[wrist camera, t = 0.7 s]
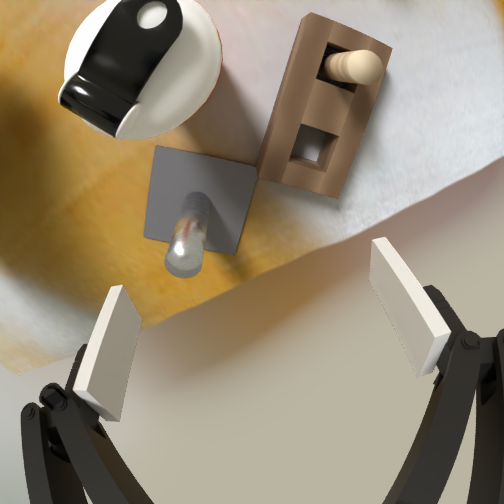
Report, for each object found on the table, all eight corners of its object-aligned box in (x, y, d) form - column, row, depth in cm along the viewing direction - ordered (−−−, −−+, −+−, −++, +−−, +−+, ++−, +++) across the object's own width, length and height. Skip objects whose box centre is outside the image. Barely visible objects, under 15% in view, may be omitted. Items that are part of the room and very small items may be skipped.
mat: (144, 235, 37) (143, 237, 37) (156, 145, 31) (155, 146, 31) (234, 253, 40) (234, 255, 39) (259, 167, 34) (260, 168, 33)
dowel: (312, 74, 28) (344, 76, 19) (320, 51, 26) (354, 43, 18) (338, 84, 28) (376, 90, 20) (345, 61, 27) (387, 59, 18)
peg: (181, 213, 36) (162, 274, 26) (186, 189, 34) (166, 243, 24) (207, 218, 36) (198, 281, 26) (213, 194, 35) (205, 251, 25)
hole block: (255, 166, 33) (258, 177, 30) (301, 19, 24) (310, 12, 21) (327, 185, 35) (337, 199, 32) (376, 49, 26) (392, 48, 23)
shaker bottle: (243, 49, 26) (258, 10, 9) (203, 120, 30) (163, 182, 13) (168, 18, 23) (85, -40, 7) (131, 89, 27) (18, 122, 11)
